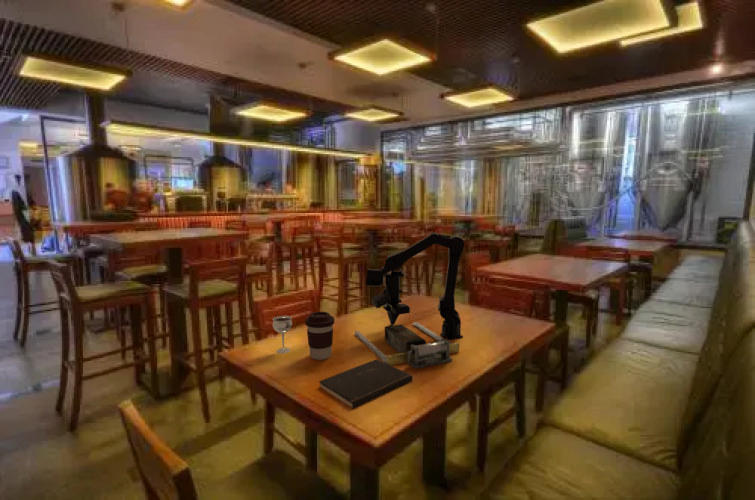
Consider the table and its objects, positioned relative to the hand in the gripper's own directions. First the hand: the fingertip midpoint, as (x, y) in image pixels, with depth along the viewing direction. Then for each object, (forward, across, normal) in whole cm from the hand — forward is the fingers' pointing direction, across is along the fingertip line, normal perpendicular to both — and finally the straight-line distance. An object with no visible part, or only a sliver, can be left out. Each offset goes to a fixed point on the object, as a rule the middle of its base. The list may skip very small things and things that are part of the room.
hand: (392, 324), depth 157 cm
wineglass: (+4, -2, -43) cm, 43 cm away
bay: (+4, +10, 0) cm, 10 cm away
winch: (+4, +29, 0) cm, 29 cm away
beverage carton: (+4, +14, -2) cm, 15 cm away
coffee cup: (+4, +9, -32) cm, 33 cm away
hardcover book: (+4, +34, -25) cm, 42 cm away
